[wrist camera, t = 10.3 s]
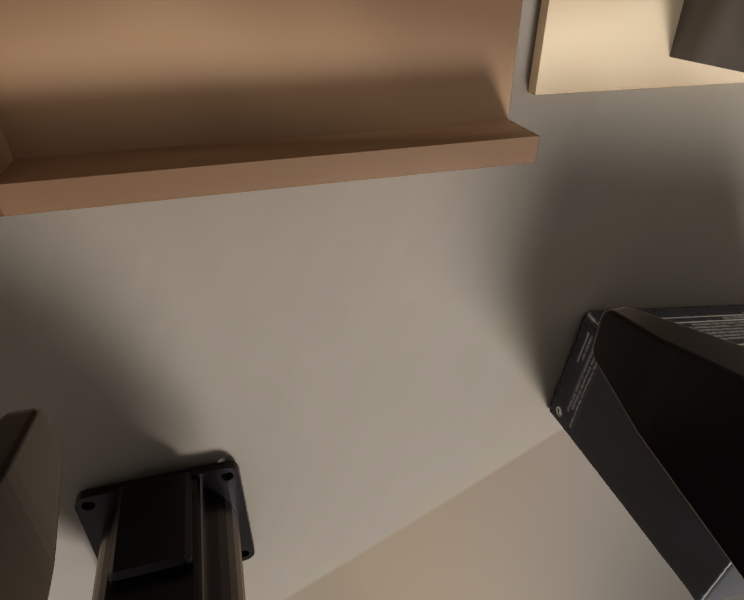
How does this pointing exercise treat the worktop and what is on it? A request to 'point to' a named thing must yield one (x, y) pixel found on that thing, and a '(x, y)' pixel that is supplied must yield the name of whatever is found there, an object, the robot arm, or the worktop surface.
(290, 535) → the worktop surface
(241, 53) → the walnut tray
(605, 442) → the small box
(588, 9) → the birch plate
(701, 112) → the worktop surface
